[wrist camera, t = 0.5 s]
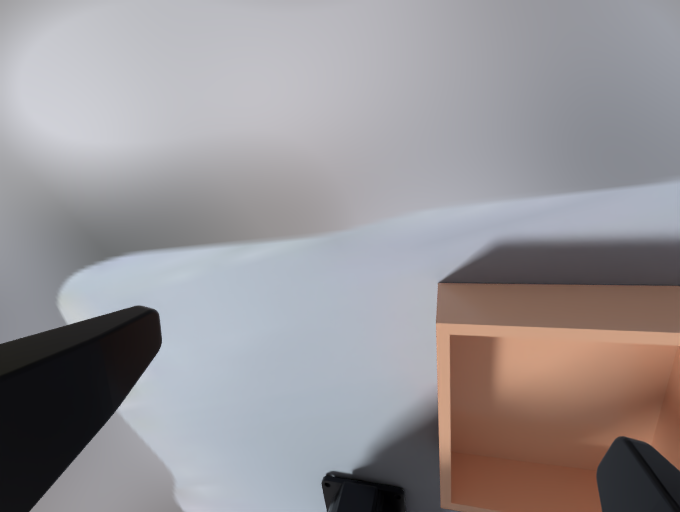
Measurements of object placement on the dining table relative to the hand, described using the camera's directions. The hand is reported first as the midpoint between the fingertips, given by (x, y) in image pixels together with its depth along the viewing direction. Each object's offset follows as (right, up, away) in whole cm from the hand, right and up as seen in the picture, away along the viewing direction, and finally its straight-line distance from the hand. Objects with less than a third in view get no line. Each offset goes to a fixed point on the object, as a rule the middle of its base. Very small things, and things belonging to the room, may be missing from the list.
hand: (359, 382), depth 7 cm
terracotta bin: (+12, -5, +14) cm, 19 cm away
